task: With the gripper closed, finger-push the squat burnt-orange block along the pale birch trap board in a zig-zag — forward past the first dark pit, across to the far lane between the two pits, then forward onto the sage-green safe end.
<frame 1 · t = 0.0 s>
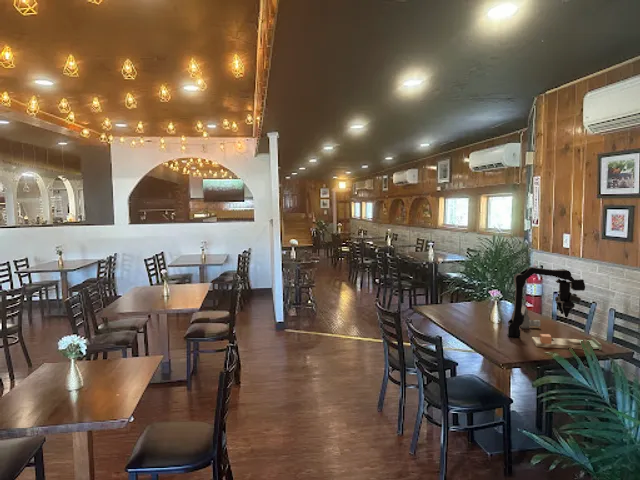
hand: (564, 315, 259), 15 cm above the table, tool pointing down, fingers open, 9 cm apart
trap board: (565, 345, 249), on the table
orange block: (545, 342, 249), point 2 cm above the table, touching trap board
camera: (530, 328, 287), on the table
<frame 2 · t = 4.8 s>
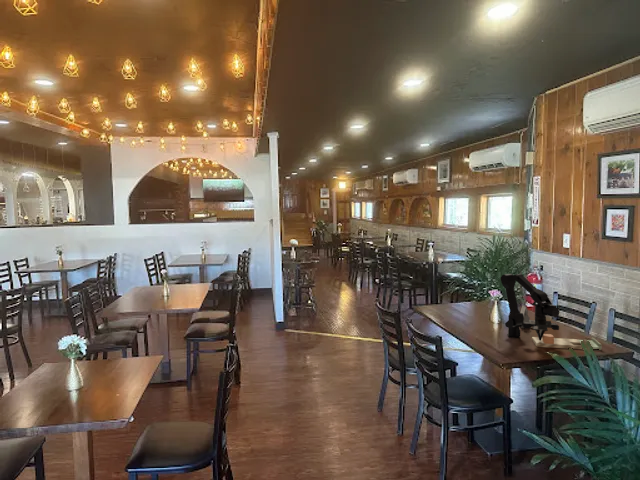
hand: (539, 340, 249), 3 cm above the table, tool pointing down, fingers closed
orange block: (548, 342, 248), point 2 cm above the table, touching gripper, trap board
everything else where it was.
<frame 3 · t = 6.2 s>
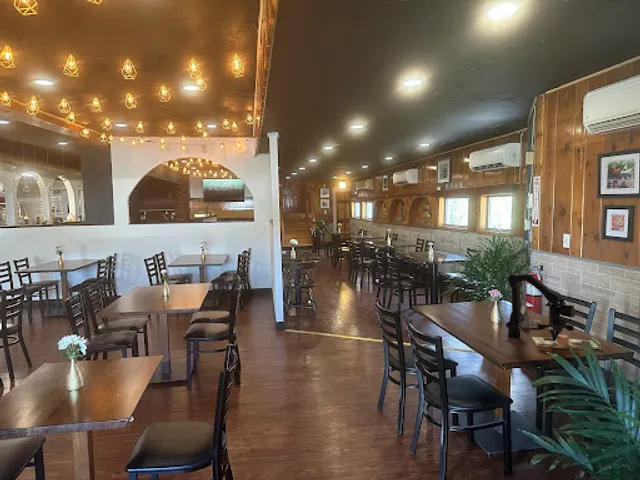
hand: (554, 341, 247), 3 cm above the table, tool pointing down, fingers closed
orange block: (562, 343, 246), point 2 cm above the table, touching gripper, trap board
everything else where it was.
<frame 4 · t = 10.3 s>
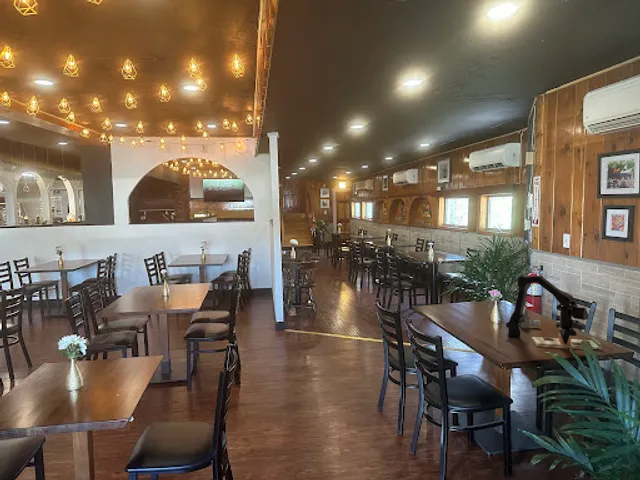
hand: (565, 343, 243), 3 cm above the table, tool pointing down, fingers closed
orange block: (564, 342, 247), point 2 cm above the table, touching gripper, trap board
everything else where it was.
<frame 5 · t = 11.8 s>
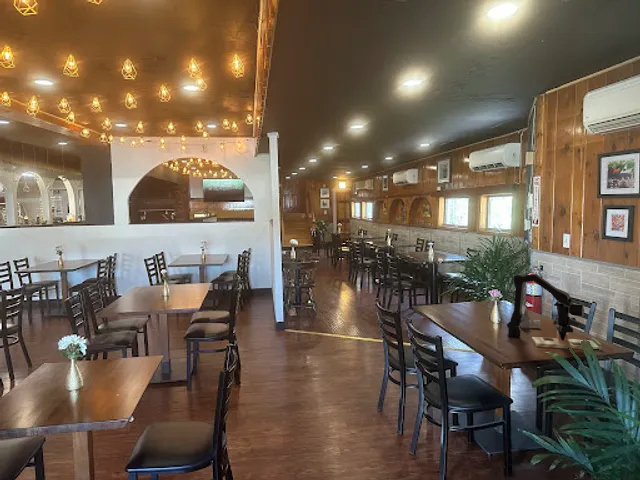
hand: (562, 340, 249), 3 cm above the table, tool pointing down, fingers closed
orange block: (562, 339, 253), point 2 cm above the table, touching gripper, trap board
everything else where it was.
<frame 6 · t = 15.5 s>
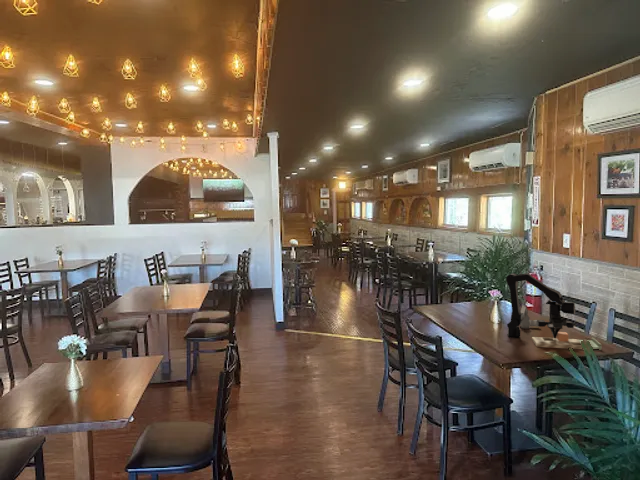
hand: (554, 338, 253), 3 cm above the table, tool pointing down, fingers closed
nothing on the table moved.
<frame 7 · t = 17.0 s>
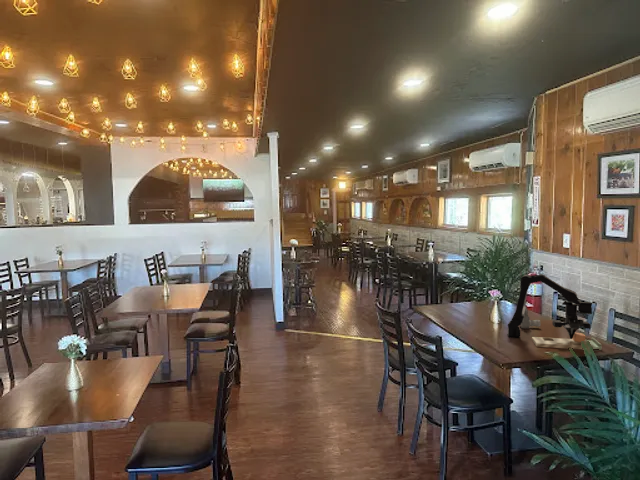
hand: (571, 338, 251), 3 cm above the table, tool pointing down, fingers closed
orange block: (578, 340, 250), point 2 cm above the table, tilted 8°, touching gripper, trap board
everything else where it was.
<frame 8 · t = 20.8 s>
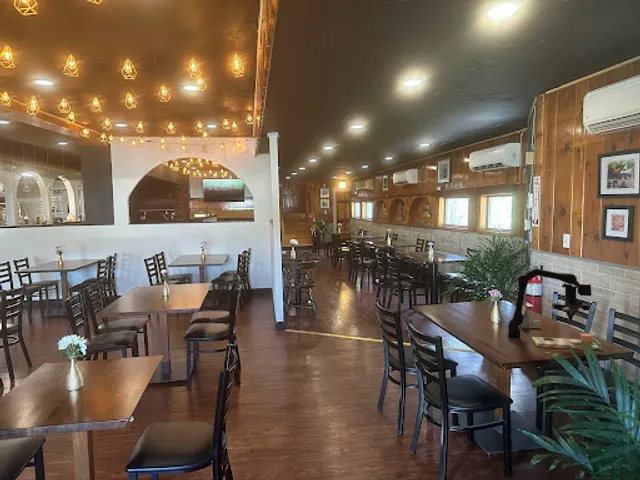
hand: (570, 320, 253), 13 cm above the table, tool pointing down, fingers closed
orange block: (586, 341, 249), point 2 cm above the table, touching trap board
everything else where it was.
at the end: orange block inside the target area on the trap board (3.8 cm from its centre), point 1.7 cm above the trap board's base; orange block tilted 0°; the gripper is holding nothing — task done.
